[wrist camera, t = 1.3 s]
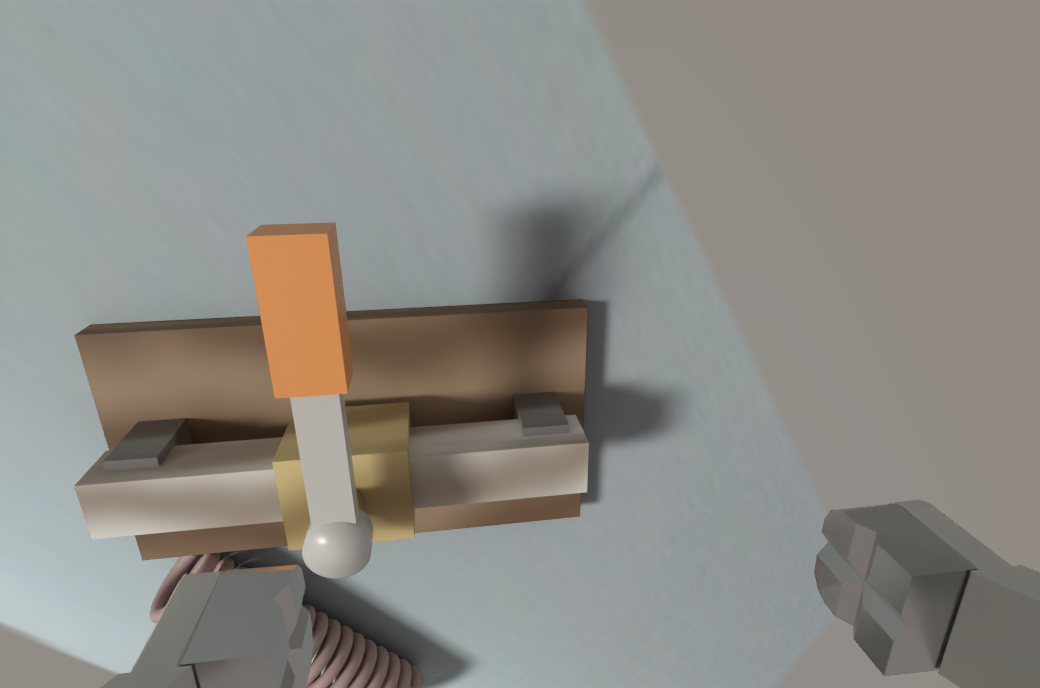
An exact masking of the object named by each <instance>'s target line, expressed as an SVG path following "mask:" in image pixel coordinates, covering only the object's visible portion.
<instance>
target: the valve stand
mask: <svg viewBox="0 0 1040 688" xmlns="http://www.w3.org/2000/svg"><path fill="white" fill-rule="evenodd" d="M587 312H588V307H587V306H586V305H585V304H584V302H583V301H582V300H581V299H580V300H560V301H541V302H522V303H503V304H483V305H464V306H445V307H426V308H406V309H387V310H368V311H349V312H346V315H347V323H348V332H349V340H350V348H351V357H352V365H353V375H352V379H351V382H350V386H349V390H348V394H344V400H345V408H346V416H347V423H348V431H349V439H350V447H351V454H352V462H353V470H354V478H355V485H356V493H357V501H358V508H359V509H361V510H362V511H364V512H365V513H366V514H367V515H368V516H369V518H370V519H371V521H372V524H373V539H372V542H379V541H389V540H399V539H409V538H415V533H420V532H430V531H440V530H450V529H460V528H470V527H480V526H490V525H500V524H510V523H520V522H530V521H540V520H550V519H560V518H570V517H579V516H580V503H581V493H585V492H587V480H588V456H589V442H588V440H587V437H586V435H585V433H584V431H583V421H584V394H585V366H586V339H587ZM75 338H76V342H77V345H78V348H79V352H80V355H81V358H82V362H83V365H84V368H85V371H86V375H87V378H88V381H89V385H90V388H91V391H92V395H93V398H94V401H95V405H96V408H97V411H98V415H99V418H100V421H101V424H102V428H103V431H104V434H105V438H106V441H107V444H108V448H109V451H106V452H105V453H104V454H103V455H102V456H101V457H100V458H99V459H98V460H97V462H96V463H95V464H94V465H93V466H92V467H91V468H90V469H89V470H88V471H87V472H86V474H85V475H84V476H83V477H82V478H81V479H80V480H79V481H78V482H77V483H76V485H75V486H74V487H75V490H76V493H77V496H78V499H79V502H80V505H81V508H82V511H83V514H84V517H85V520H86V523H87V526H88V529H89V532H90V535H91V538H92V539H101V538H112V537H122V536H133V535H135V537H136V540H137V544H138V547H139V550H140V554H141V557H142V560H151V559H161V558H171V557H181V556H191V555H201V554H211V553H221V552H231V551H241V550H251V549H260V548H270V547H280V546H288V549H289V551H291V550H300V549H302V548H303V544H304V541H305V537H306V533H307V530H308V526H309V523H310V515H309V509H308V503H307V497H306V491H305V485H304V479H303V473H302V467H301V461H300V455H299V449H298V443H297V437H296V431H295V425H294V419H293V413H292V407H291V401H290V398H278V399H275V397H274V391H273V385H272V380H271V374H270V368H269V363H268V357H267V351H266V346H265V340H264V334H263V329H262V323H261V317H260V316H252V317H233V318H214V319H195V320H175V321H156V322H137V323H118V324H98V325H89V326H88V327H86V328H85V329H83V330H82V331H80V332H79V333H77V334H76V335H75Z"/></svg>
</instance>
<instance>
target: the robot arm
mask: <svg viewBox="0 0 1040 688" xmlns="http://www.w3.org/2000/svg"><path fill="white" fill-rule="evenodd" d="M822 533H823V534H824V536H825V538H826V539H827V541H828V543H827V544H826V545H825V546H824V547H823V548H822V550H821V551H820V552H819V553H818V554H817V558H816V564H815V571H814V573H815V578H816V582H817V587H818V591H819V593H820V595H821V597H822V599H823V601H824V603H825V604H826V605H827V607H828V608H829V609H830V610H831V612H832V613H833V614H834V615H835V616H836V617H838V618H840V619H841V620H843V621H845V622H847V623H849V624H851V625H852V626H853V630H854V640H855V641H856V643H857V644H858V645H859V646H860V647H861V649H862V650H863V651H864V652H865V653H866V655H867V656H868V657H869V658H870V660H871V661H872V662H873V663H874V664H875V666H876V667H877V668H878V669H879V670H880V672H881V673H882V674H883V675H884V676H890V675H899V674H908V673H917V672H926V671H934V670H939V671H938V674H940V675H941V676H943V677H945V678H946V679H948V680H949V681H951V682H952V683H954V684H955V685H957V686H958V687H960V688H1040V572H1038V571H1035V570H1033V569H1030V568H1027V567H1024V566H1022V565H1018V566H1011V565H1010V564H1009V563H1007V562H1006V561H1005V560H1003V559H1002V558H1001V557H999V556H998V555H997V554H996V553H994V552H993V551H992V550H990V549H989V548H988V547H987V546H985V545H984V544H983V543H981V542H980V541H979V540H977V539H976V538H975V537H973V536H972V535H971V534H970V533H968V532H967V531H966V530H964V529H963V528H962V527H960V526H959V525H958V524H956V523H955V522H954V521H953V520H951V519H950V518H949V517H947V516H946V515H945V514H943V513H942V512H941V511H940V510H938V509H937V508H936V507H934V506H933V505H932V504H930V503H927V502H925V501H922V500H910V501H903V502H895V503H889V504H887V505H875V506H866V507H858V508H848V509H839V510H831V511H830V512H829V514H828V515H827V516H826V518H825V520H824V524H823V529H822ZM305 588H306V586H305V581H304V577H303V572H302V568H301V567H300V566H299V565H287V566H275V567H262V568H249V569H237V570H226V571H225V572H224V571H218V572H207V573H195V574H188V575H186V576H185V577H184V578H182V579H181V580H180V581H179V582H178V584H177V586H176V588H175V590H174V592H173V594H172V595H171V597H170V599H169V601H168V603H167V605H166V607H165V609H164V611H163V612H162V614H161V616H160V618H159V620H158V622H157V624H156V626H155V627H154V629H153V631H152V633H151V635H150V637H149V639H148V641H147V642H146V644H145V646H144V648H143V650H142V652H141V654H140V656H139V657H138V659H137V661H136V663H135V665H134V667H133V669H132V671H131V672H130V673H123V674H118V675H116V676H115V677H114V678H112V679H111V680H110V681H109V682H107V683H106V684H105V685H104V686H102V687H101V688H303V687H304V686H305V685H306V684H307V683H308V679H309V673H310V668H311V660H312V646H313V636H312V622H311V616H310V611H309V610H307V609H306V608H305V607H304V606H303V605H301V604H302V600H303V596H304V592H305Z"/></svg>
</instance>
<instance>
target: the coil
mask: <svg viewBox="0 0 1040 688" xmlns="http://www.w3.org/2000/svg"><path fill="white" fill-rule="evenodd" d="M197 556H198V555H191V556H181V557H180V558H179V559H178V561H177V562H176V563H175V565H174V566H173V568H172V569H171V571H170V572H169V574H168V575H167V577H166V578H165V580H164V581H163V583H162V585H161V587H160V588H159V590H158V592H157V594H156V596H155V598H154V601H153V603H152V606H151V610H150V618H151V620H152V621H153V622H154V623H157V622H158V620H159V618H160V616H161V614H162V612H163V611H164V609H165V607H166V605H167V603H168V601H169V599H170V597H171V595H172V593H173V591H174V589H175V588H176V586H177V584H178V582H179V581H180V579H181V578H182V576H183V575H184V573H185V572H186V570H187V569H188V568H189V566H190V565H191V564H192V562H193V561H194V560H195V559H196V558H197ZM219 559H220V553H211V554H204V555H203V556H202V557H201V558H200V560H199V561H198V562H197V563H196V564H195V566H194V567H193V568H192V570H191V571H190V572H189V574H195V573H207V572H218V571H224V572H225V571H226V570H233V569H234V566H235V565H234V561H233V560H232V559H231V558H225V559H222V560H221V561H220V562H219ZM218 562H219V563H218ZM237 569H247V568H246V567H244V566H239V567H236V568H235V569H234V570H237ZM301 605H303V604H301ZM303 606H304V607H305V608H306V609H307V610H309V611H310V616H311V622H312V630H313V629H314V628H315V629H314V632H313V634H312V636H313V646H312V658H313V657H314V655H315V654H316V652H317V651H318V649H319V647H320V645H321V644H322V642H323V639H324V637H325V636H326V635H327V634H328V636H327V638H326V640H325V641H324V642H323V644H322V645H321V647H320V649H319V651H318V652H317V654H316V656H315V658H314V661H313V663H312V664H311V668H310V673H309V679H308V683H307V684H306V685H305V686H304V687H303V688H395V687H396V685H397V682H398V686H397V688H409V687H410V684H411V688H422V686H423V676H422V672H421V670H420V669H419V668H418V667H417V666H415V665H410V664H409V662H408V661H406V660H405V659H399V657H398V656H397V655H396V654H395V653H391V652H387V650H386V649H385V648H384V647H382V646H376V644H375V643H374V642H373V641H372V640H369V639H364V637H363V636H362V635H361V634H360V633H353V632H352V630H351V629H350V628H349V627H348V626H340V623H339V622H338V621H337V620H336V619H329V620H328V616H327V615H326V614H325V613H324V612H315V608H314V607H313V606H312V605H309V604H306V605H303ZM340 640H341V641H340ZM339 641H340V644H339V645H338V646H337V644H338V642H339ZM351 647H353V649H352V650H351ZM350 650H351V651H350ZM364 653H365V654H364ZM376 659H377V660H376ZM325 666H326V667H325ZM324 667H325V670H324V672H323V674H322V675H321V672H322V670H323V669H324ZM335 677H336V679H335ZM334 679H335V682H334V683H333V680H334ZM332 683H333V684H332Z"/></svg>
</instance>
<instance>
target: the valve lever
mask: <svg viewBox="0 0 1040 688" xmlns="http://www.w3.org/2000/svg"><path fill="white" fill-rule="evenodd" d="M246 238H247V244H248V250H249V255H250V261H251V267H252V272H253V278H254V284H255V289H256V295H257V301H258V306H259V312H260V317H261V323H262V329H263V334H264V340H265V346H266V351H267V357H268V363H269V368H270V374H271V380H272V385H273V391H274V397H275V399H278V398H290V401H291V407H292V413H293V419H294V425H295V431H296V437H297V443H298V449H299V455H300V461H301V467H302V473H303V479H304V485H305V491H306V497H307V503H308V509H309V515H310V523H309V526H308V530H307V533H306V537H305V541H304V544H303V548H302V556H303V560H304V562H305V564H306V565H307V567H308V568H309V569H310V570H311V571H313V572H314V573H316V574H318V575H320V576H323V577H326V578H333V579H339V578H346V577H350V576H352V575H354V574H356V573H358V572H359V571H361V570H362V569H363V568H364V567H365V566H366V565H367V563H368V561H369V559H370V556H371V548H372V539H373V524H372V521H371V519H370V518H369V516H368V515H367V514H366V513H365V512H364V511H362V510H361V509H359V508H358V501H357V493H356V485H355V478H354V470H353V462H352V454H351V447H350V439H349V431H348V423H347V416H346V408H345V400H344V394H348V390H349V386H350V382H351V379H352V375H353V365H352V357H351V348H350V340H349V332H348V323H347V315H346V307H345V299H344V290H343V282H342V274H341V265H340V257H339V249H338V241H337V232H336V224H335V223H308V224H278V225H261V226H259V227H258V228H257V229H255V230H254V231H253V232H251V233H250V234H249V235H247V236H246Z"/></svg>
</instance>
